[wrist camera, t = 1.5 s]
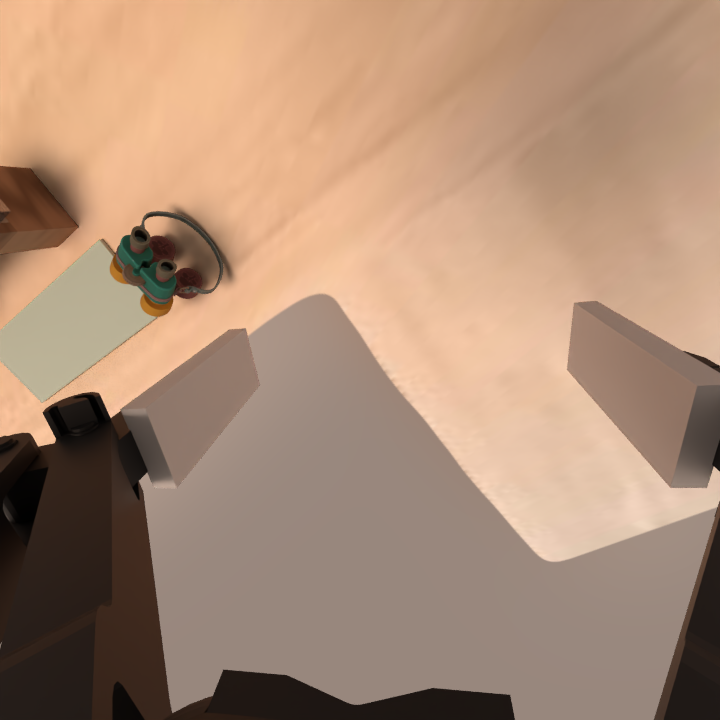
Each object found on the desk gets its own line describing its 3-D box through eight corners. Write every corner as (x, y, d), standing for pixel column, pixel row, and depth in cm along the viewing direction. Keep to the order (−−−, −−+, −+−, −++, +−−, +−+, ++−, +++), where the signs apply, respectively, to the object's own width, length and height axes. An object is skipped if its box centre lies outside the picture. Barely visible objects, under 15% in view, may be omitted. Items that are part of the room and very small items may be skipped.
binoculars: (169, 221, 42) (84, 261, 36) (189, 173, 35) (86, 212, 29) (225, 288, 45) (153, 335, 39) (254, 255, 37) (171, 307, 32)
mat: (-12, 343, 50) (-16, 344, 49) (102, 239, 42) (99, 239, 41) (45, 401, 52) (42, 402, 52) (163, 313, 45) (160, 314, 44)
